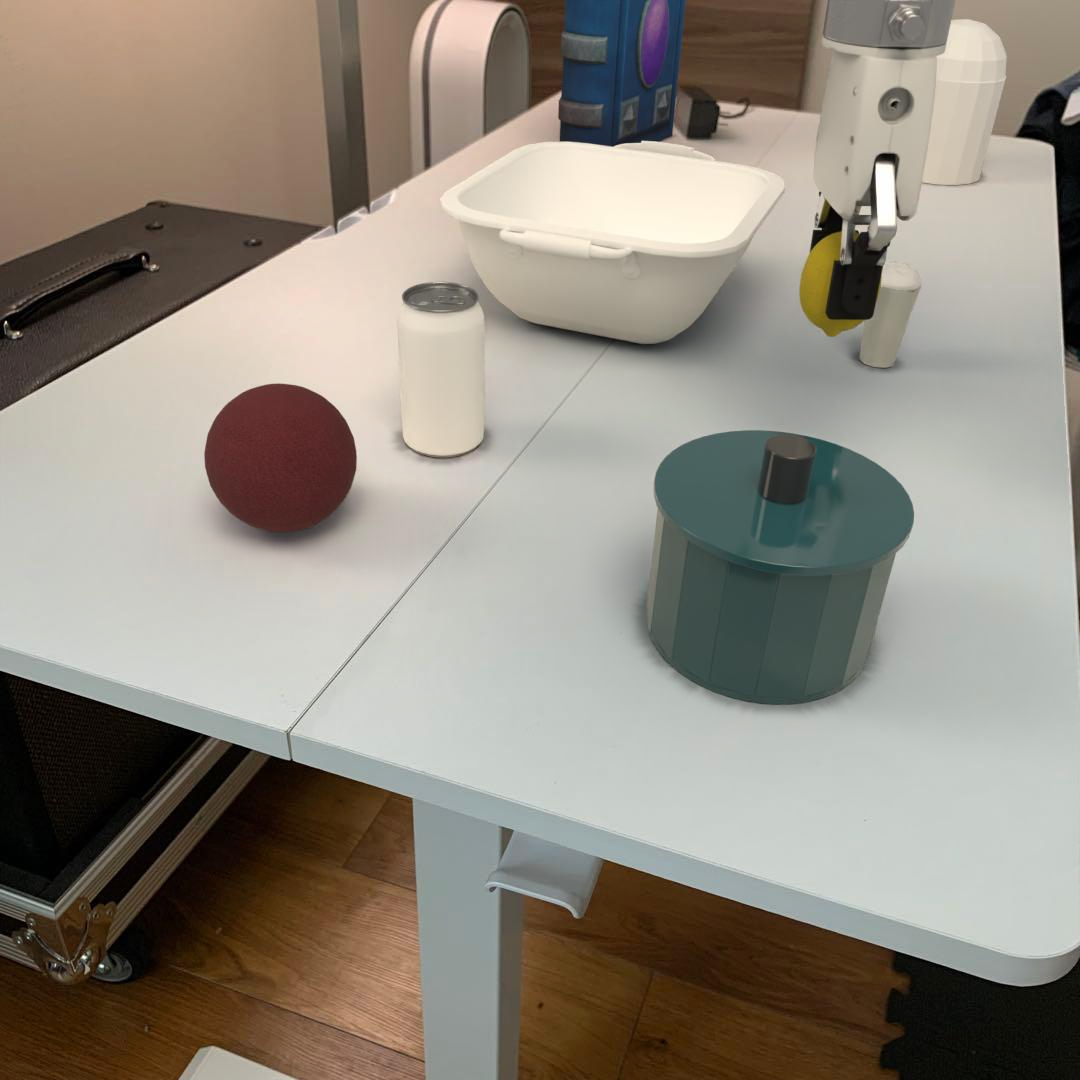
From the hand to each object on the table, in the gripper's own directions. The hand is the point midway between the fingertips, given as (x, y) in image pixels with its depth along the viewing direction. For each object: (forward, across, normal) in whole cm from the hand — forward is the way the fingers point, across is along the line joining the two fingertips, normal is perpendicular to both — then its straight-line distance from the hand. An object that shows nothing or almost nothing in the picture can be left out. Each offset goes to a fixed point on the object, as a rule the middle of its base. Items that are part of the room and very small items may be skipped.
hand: (837, 298), depth 76 cm
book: (+13, +91, +9) cm, 93 cm away
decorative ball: (+13, -10, +39) cm, 42 cm away
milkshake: (+14, +19, -10) cm, 26 cm away
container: (+14, +84, -36) cm, 93 cm away
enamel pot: (+14, -21, +8) cm, 26 cm away
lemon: (+3, 0, 0) cm, 3 cm away
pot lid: (+4, -21, +8) cm, 22 cm away
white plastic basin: (+13, +29, +14) cm, 35 cm away
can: (+13, +2, +29) cm, 32 cm away
